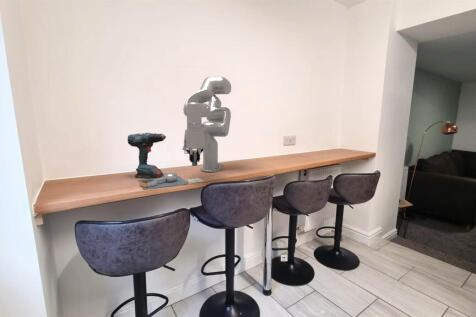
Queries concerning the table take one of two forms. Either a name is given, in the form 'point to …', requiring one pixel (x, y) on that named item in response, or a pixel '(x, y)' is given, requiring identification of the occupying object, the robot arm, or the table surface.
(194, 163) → the key
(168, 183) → the board
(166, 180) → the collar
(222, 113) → the robot arm
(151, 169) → the power drill
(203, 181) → the pad
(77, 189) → the table surface
